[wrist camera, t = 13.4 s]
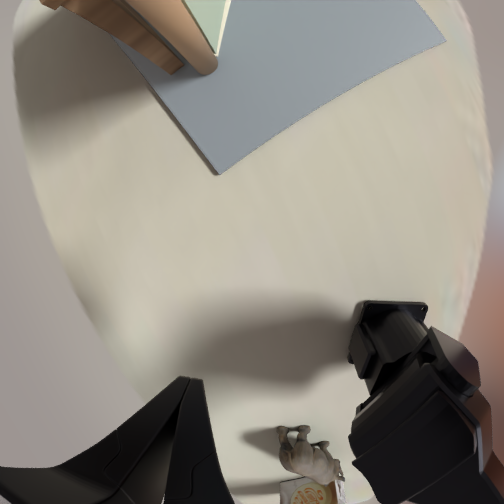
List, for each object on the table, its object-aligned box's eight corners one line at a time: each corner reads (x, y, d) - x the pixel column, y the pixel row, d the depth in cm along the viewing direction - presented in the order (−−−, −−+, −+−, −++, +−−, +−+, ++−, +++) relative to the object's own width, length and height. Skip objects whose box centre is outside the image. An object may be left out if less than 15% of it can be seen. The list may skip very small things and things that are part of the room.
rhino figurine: (326, 464, 31) (329, 497, 26) (269, 429, 28) (268, 471, 23) (351, 454, 30) (357, 487, 25) (299, 416, 27) (302, 460, 22)
